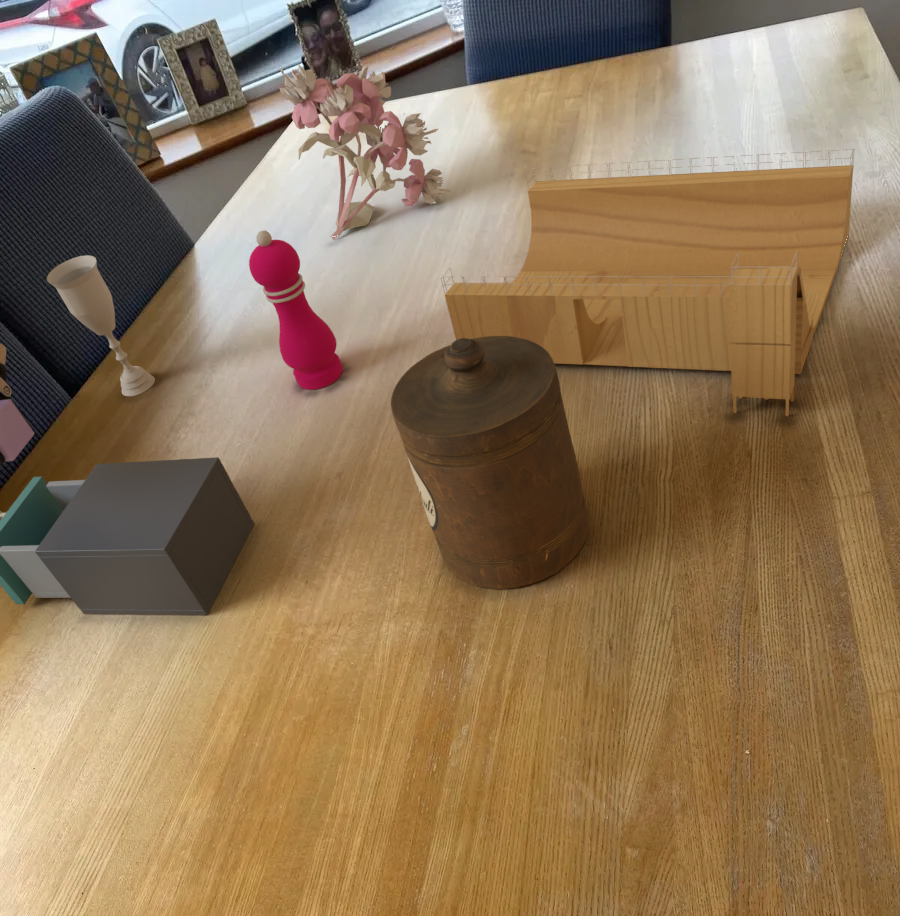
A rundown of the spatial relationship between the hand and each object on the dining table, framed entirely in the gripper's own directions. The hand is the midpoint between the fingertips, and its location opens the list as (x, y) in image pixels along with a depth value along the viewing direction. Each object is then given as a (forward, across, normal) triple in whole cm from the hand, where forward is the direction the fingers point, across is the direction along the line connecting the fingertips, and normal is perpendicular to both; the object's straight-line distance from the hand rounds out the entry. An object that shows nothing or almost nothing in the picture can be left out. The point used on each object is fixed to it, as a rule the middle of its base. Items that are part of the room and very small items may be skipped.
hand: (5, 445), depth 97 cm
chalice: (+17, -35, -11) cm, 40 cm away
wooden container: (+17, -2, +50) cm, 53 cm away
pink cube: (0, 0, 0) cm, 0 cm away
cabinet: (+17, +2, +12) cm, 21 cm away
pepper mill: (+17, -33, +19) cm, 41 cm away
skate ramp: (+17, -39, +60) cm, 74 cm away
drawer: (+16, +2, 0) cm, 16 cm away
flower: (+17, -78, +18) cm, 82 cm away
